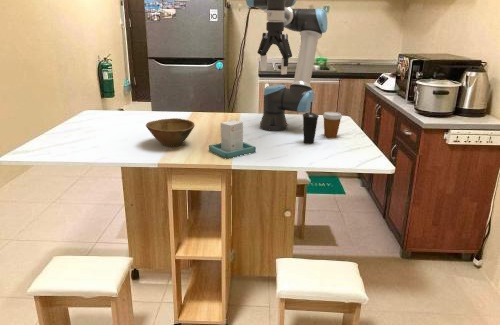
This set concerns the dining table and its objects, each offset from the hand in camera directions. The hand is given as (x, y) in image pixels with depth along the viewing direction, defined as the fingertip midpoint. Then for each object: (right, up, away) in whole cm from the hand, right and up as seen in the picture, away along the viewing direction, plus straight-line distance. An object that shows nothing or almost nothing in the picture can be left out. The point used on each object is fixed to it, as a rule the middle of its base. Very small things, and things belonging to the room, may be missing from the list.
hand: (273, 72), depth 179 cm
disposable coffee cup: (+31, -27, +30) cm, 51 cm away
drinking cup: (+18, -30, +20) cm, 41 cm away
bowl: (-48, -31, +14) cm, 59 cm away
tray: (-18, -35, +5) cm, 40 cm away
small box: (-19, -35, +5) cm, 40 cm away
